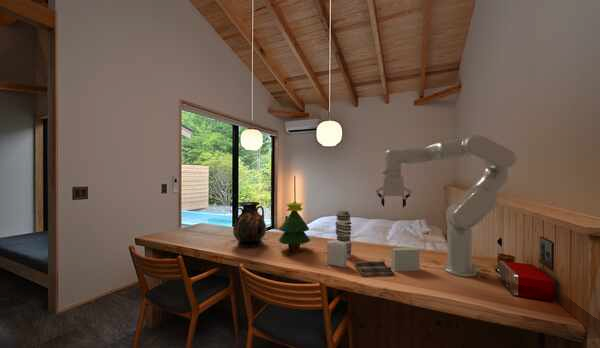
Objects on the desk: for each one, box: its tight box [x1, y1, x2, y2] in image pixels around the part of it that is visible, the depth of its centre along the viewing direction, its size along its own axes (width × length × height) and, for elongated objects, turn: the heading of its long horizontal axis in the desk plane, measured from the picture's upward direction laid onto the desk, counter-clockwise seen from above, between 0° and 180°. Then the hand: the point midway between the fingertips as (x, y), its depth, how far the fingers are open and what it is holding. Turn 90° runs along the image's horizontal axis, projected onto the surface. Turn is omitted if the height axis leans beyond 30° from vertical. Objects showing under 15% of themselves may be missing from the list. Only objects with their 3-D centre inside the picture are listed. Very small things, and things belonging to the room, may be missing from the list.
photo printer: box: [326, 239, 348, 268], centre depth 118 cm, size 10×4×12 cm, turn 60°
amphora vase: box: [232, 201, 267, 249], centre depth 152 cm, size 22×22×28 cm
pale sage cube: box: [391, 247, 420, 272], centre depth 112 cm, size 12×3×10 cm, turn 93°
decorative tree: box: [278, 201, 311, 253], centre depth 142 cm, size 19×19×30 cm
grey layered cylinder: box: [335, 210, 352, 258], centre depth 132 cm, size 9×9×25 cm
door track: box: [353, 260, 395, 277], centre depth 111 cm, size 15×12×3 cm
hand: (393, 206), depth 120 cm, fingers open, 9 cm apart
